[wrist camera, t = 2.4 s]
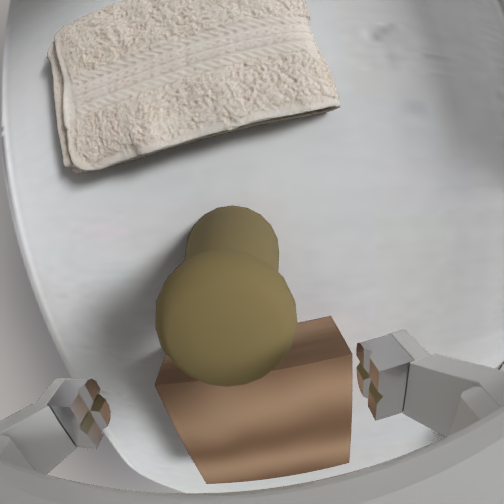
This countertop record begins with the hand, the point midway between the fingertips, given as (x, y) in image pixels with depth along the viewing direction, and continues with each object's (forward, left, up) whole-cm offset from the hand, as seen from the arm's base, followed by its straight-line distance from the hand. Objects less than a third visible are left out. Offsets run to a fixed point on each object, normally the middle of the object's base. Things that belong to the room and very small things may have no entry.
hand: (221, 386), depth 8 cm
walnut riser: (+11, 0, -12) cm, 17 cm away
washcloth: (-14, -1, -13) cm, 19 cm away
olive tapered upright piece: (-1, 0, -13) cm, 13 cm away
